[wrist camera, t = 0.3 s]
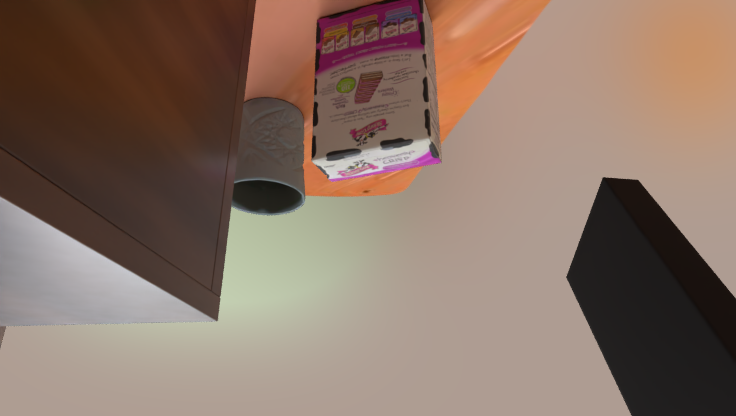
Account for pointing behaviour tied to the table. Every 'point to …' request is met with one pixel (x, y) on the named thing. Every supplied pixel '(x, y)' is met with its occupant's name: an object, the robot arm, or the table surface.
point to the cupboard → (118, 157)
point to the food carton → (375, 91)
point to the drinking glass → (270, 158)
